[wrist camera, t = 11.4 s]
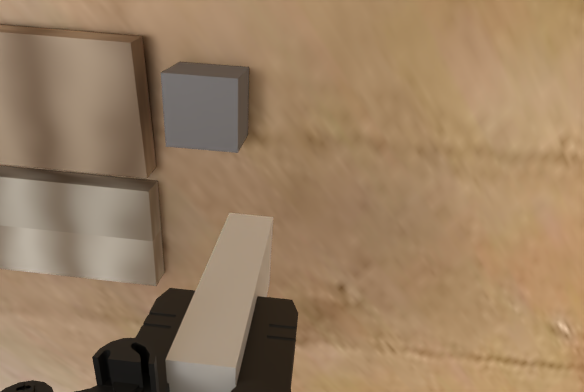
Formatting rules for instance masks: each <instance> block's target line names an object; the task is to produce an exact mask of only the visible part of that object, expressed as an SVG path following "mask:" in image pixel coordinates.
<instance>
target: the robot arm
mask: <svg viewBox="0 0 584 392" xmlns="http://www.w3.org/2000/svg"><path fill="white" fill-rule="evenodd" d="M272 231H273V217H269V216H259V215H248V214H238V213H229V215H228V217H227V219H226V222H225V224H224V226H223V228H222V231H221V233H220V235H219V238H218V240H217V242H216V245H215V247H214V249H213V251H212V254H211V256H210V258H209V261H208V263H207V265H206V268H205V270H204V272H203V274H202V277H201V279H200V281H199V284H198V286H197V288H196V291H193V290H184V289H174V288H169V289H168V290H167V291H166V292H165V293H163V294H162V295H161V296H160V297H158V298H157V299H156V301H155V303H154V305H153V307H152V308H151V310H150V313H149V315H148V316H147V318H146V320H145V321H144V325H143V326H142V327H141V329H140V331H139V332H138V334H137V336H136V338H123V339H119V340H116V341H113V342H110V343H108V344H107V345H105V346H103V347H102V348H100V349H99V350H98V351H97V353H96V354H95V355H94V356H93V357H92V358H93V364H94V369H95V375H96V381H97V386H95V387H92V388H90V389H86V390H82V391H76V392H291V381H292V371H293V362H294V352H295V342H296V331H297V320H298V312H297V309H296V307H295V305H294V303H293V301H292V300H288V299H279V298H269V297H267V293H268V288H269V283H270V268H271V249H272ZM1 392H53V390H52V387H50V386H49V385H47V384H46V383H45V382H40V381H33V380H32V381H26V382H19V383H17V384H15V385H12V386H10V387H7V388H5V389H4V390H2V391H1Z"/></svg>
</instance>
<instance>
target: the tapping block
mask: <svg viewBox="0 0 584 392" xmlns="http://www.w3.org/2000/svg"><path fill="white" fill-rule="evenodd" d="M161 84H162V98H163V112H164V126H165V141H166V147H178V148H189V149H201V150H212V151H223V152H235V153H238V152H239V150H240V148H241V146H242V144H243V143H244V141H245V139H246V137H247V135H248V98H249V67H241V66H228V65H215V64H201V63H188V62H178V63H177V64H175V65H173V66H172V67H170V68H168V69H166V70H165V71H163V72H161Z"/></svg>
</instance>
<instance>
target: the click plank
mask: <svg viewBox="0 0 584 392" xmlns="http://www.w3.org/2000/svg"><path fill="white" fill-rule="evenodd" d="M0 164H4V165H14V166H24V167H34V168H45V169H55V170H65V171H75V172H85V173H96V174H106V175H116V176H126V177H137V178H148V177H149V175H150V174H151V173H152V171H153V170H154V169H155V168H156V159H155V150H154V141H153V131H152V122H151V113H150V104H149V95H148V86H147V76H146V67H145V58H144V49H143V40H142V36H134V35H122V34H109V33H97V32H85V31H72V30H60V29H48V28H35V27H23V26H10V25H0Z"/></svg>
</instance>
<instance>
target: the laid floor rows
mask: <svg viewBox="0 0 584 392" xmlns="http://www.w3.org/2000/svg"><path fill="white" fill-rule="evenodd" d="M0 269H7V270H16V271H25V272H34V273H43V274H52V275H61V276H70V277H79V278H88V279H97V280H106V281H115V282H124V283H133V284H142V285H152V286H157V284H158V282H159V281H160V279H161V277H162V276H163V274H164V260H163V247H162V233H161V219H160V206H159V192H158V181H153V180H143V179H132V178H122V177H112V176H102V175H91V174H81V173H71V172H61V171H51V170H40V169H30V168H20V167H10V166H0Z"/></svg>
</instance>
